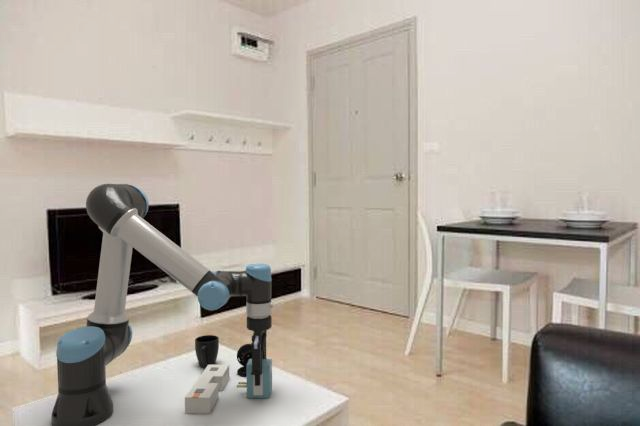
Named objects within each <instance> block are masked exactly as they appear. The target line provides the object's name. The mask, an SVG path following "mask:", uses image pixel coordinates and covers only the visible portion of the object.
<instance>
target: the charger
mask: <svg viewBox="0 0 640 426" xmlns="http://www.w3.org/2000/svg"><path fill="white" fill-rule="evenodd" d="M251 372H252V359H249V361H248V363H247V365H246V375H247V377H246V381H238V384H237V385H236V388H242V389H244V388H246V398H247V399H271V396H272V393H273V360H272V358H267V359H262V373H263V395H253V375H251Z"/></svg>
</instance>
